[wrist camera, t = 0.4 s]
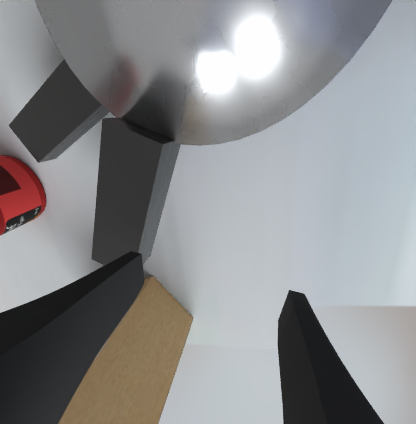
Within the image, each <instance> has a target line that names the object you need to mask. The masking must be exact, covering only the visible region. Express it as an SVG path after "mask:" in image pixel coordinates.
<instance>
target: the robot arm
mask: <svg viewBox="0 0 416 424" xmlns="http://www.w3.org/2000/svg"><path fill="white" fill-rule="evenodd" d="M143 285H144V274H143V262H142V254H141V253H137V252H133V251H130V252H128V253H126V254H124V255H123V256H121V257H119V258H117V259H116V260H114V261H112V262H110V263H108V264H107V265H105V266H103V267H101V268H99V269H98V270H96V271H94V272H92V273H90V274H88V275H87V276H85V277H83V278H81V279H79V280H77V281H75V282H73V283H71V284H69V285H67V286H65V287H63V288H61V289H59V290H56V291H54V292H52V293H50V294H48V295H45V296H43V297H41V298H38V299H36V300H33V301H31V302H29V303H26V304H23V305H21V306H18V307H15V308H13V309H10V310H7V311H5V312H2V313H0V424H58V423H59V422H60V420H61V418H62V416H63V414H64V412H65V410H66V408H67V407H68V405H69V403H70V401H71V399H72V397H73V396H74V394H75V392H76V390H77V389H78V387H79V385H80V383H81V381H82V380H83V378H84V376H85V375H86V373H87V371H88V369H89V368H90V366H91V364H92V363H93V361H94V359H95V358H96V356H97V354H98V353H99V351H100V350H101V348H102V347H103V345H104V344H105V342H106V341H107V339H108V338H109V337H110V335H111V334H112V332H113V331H114V330H115V328H116V327H117V325H118V324H119V323H120V321H121V320H122V318H123V317H124V316H125V314H126V313H127V311H128V310H129V309H130V307H131V306H132V304H133V303H134V301H135V299H136V298H137V296H138V294H139V292H140V290H141V289H142V287H143ZM278 354H279V366H280V378H281V390H282V402H283V419H284V424H384V423H383V421H382V420H381V419H380V417H379V416H378V415H377V413H376V412H375V410H374V409H373V408H372V406H371V405H370V403H369V402H368V400H367V399H366V398H365V396H364V395H363V393H362V392H361V390H360V389H359V387H358V386H357V385H356V383H355V381H354V380H353V378H352V377H351V375H350V374H349V372H348V370H347V369H346V367H345V366H344V364H343V363H342V361H341V359H340V358H339V356H338V355H337V353H336V351H335V349H334V348H333V346H332V344H331V343H330V341H329V339H328V337H327V336H326V334H325V332H324V330H323V328H322V327H321V325H320V323H319V321H318V319H317V317H316V316H315V314H314V312H313V310H312V308H311V306H310V304H309V302H308V300H307V298H306V296H305V295H304V294H303V293H299V292H295V291H291V290H289V292H288V295H287V298H286V301H285V303H284V306H283V309H282V312H281V314H280V317H279V320H278Z"/></svg>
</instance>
